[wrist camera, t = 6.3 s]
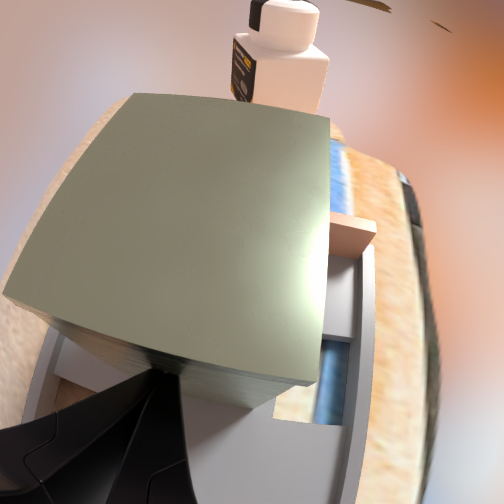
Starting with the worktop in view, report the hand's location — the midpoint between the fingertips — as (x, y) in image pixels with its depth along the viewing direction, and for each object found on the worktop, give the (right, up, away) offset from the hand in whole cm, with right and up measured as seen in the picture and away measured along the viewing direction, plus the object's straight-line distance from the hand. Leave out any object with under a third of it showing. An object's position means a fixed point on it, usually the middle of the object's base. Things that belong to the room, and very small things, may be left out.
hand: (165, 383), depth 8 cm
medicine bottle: (+4, +19, +22) cm, 30 cm away
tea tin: (0, -1, +8) cm, 8 cm away
